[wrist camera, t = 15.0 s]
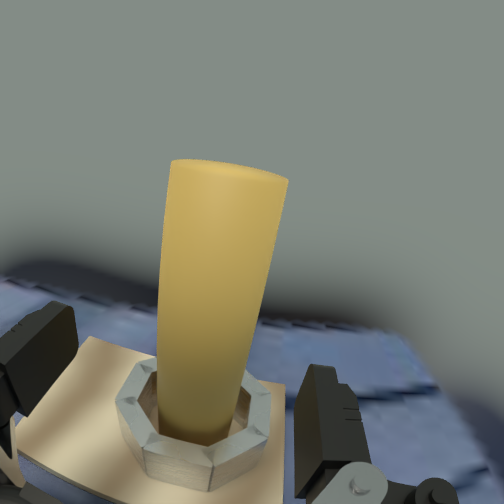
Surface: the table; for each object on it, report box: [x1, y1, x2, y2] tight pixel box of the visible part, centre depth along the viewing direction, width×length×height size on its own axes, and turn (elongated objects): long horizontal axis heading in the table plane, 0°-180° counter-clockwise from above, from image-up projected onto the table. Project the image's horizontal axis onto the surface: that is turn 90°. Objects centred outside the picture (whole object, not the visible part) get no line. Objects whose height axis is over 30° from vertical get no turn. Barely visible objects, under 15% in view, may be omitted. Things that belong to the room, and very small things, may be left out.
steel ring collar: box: [115, 357, 271, 493], centre depth 16 cm, size 9×9×4 cm
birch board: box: [15, 336, 285, 504], centre depth 17 cm, size 17×13×1 cm
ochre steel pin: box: [157, 159, 288, 447], centre depth 14 cm, size 4×4×16 cm
